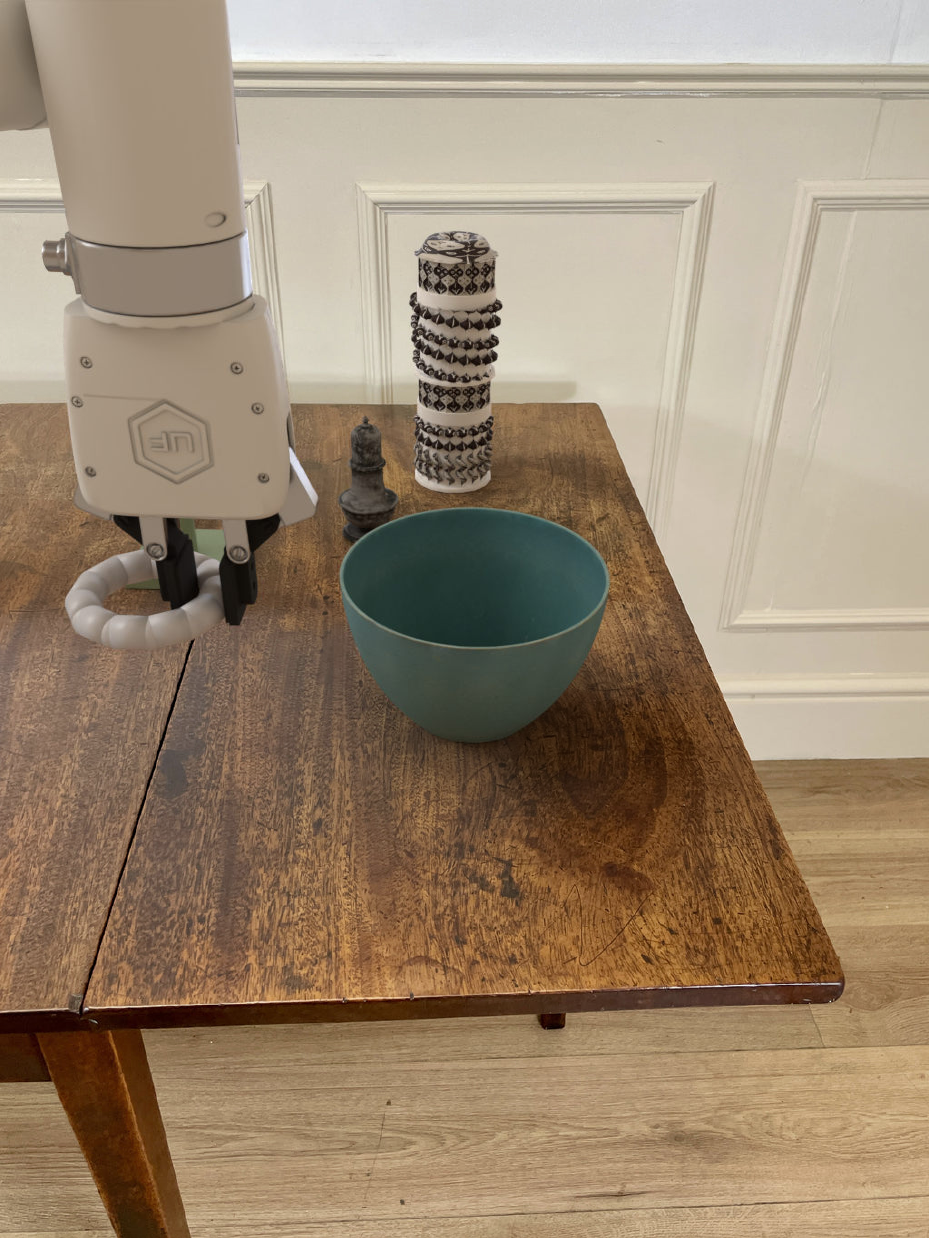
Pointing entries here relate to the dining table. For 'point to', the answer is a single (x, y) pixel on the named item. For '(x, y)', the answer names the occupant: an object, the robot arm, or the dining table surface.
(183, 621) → the ring
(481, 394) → the decorative candle
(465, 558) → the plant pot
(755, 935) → the dining table surface
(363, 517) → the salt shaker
